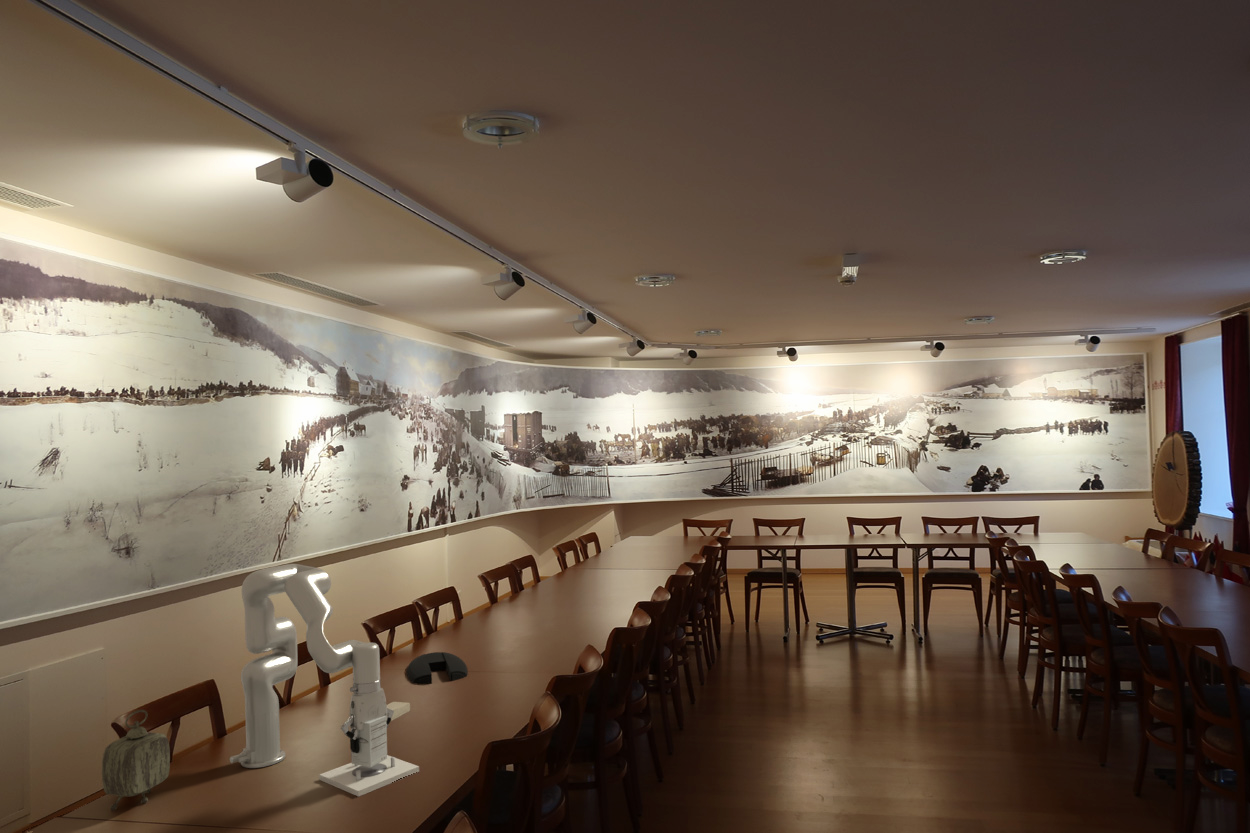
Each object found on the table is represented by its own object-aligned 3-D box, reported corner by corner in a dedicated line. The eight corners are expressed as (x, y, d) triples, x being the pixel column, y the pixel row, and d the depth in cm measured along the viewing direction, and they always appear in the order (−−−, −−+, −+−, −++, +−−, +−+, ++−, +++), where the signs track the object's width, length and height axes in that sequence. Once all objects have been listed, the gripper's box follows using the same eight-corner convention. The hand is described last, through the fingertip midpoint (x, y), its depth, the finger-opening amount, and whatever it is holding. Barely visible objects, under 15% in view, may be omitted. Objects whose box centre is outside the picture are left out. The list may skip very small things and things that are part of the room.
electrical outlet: (409, 700, 290) (378, 716, 273) (410, 711, 290) (379, 728, 273) (393, 699, 292) (361, 715, 275) (393, 710, 292) (361, 727, 275)
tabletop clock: (148, 790, 228) (147, 701, 229) (173, 792, 225) (172, 703, 226) (102, 813, 214) (100, 718, 215) (128, 816, 211) (126, 720, 212)
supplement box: (350, 764, 230) (349, 720, 231) (369, 755, 237) (367, 712, 237) (370, 768, 227) (368, 723, 227) (388, 758, 234) (387, 714, 234)
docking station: (460, 656, 366) (459, 645, 366) (472, 679, 328) (471, 667, 328) (404, 663, 358) (403, 652, 358) (409, 687, 320) (409, 675, 320)
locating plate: (358, 796, 218) (358, 781, 218) (319, 779, 230) (319, 765, 230) (419, 771, 233) (418, 757, 233) (379, 757, 246) (379, 743, 246)
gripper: (347, 696, 224) (349, 759, 223) (399, 681, 237) (401, 740, 236) (332, 692, 228) (334, 754, 228) (385, 677, 242) (387, 735, 241)
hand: (368, 746), depth 232 cm, fingers closed on supplement box, 8 cm apart
